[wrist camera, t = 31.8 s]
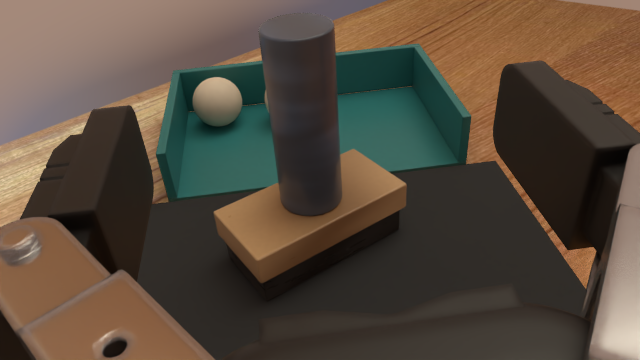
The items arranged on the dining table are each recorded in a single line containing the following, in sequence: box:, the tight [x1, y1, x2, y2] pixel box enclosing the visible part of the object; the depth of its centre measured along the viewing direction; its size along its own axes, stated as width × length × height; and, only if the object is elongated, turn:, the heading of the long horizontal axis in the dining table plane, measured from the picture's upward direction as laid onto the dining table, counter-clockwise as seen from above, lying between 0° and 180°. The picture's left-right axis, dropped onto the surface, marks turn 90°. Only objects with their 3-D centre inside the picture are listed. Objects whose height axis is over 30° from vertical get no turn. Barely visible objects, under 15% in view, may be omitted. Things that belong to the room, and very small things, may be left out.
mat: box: [137, 161, 586, 360], centre depth 22 cm, size 24×20×1 cm
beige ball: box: [193, 77, 242, 127], centre depth 36 cm, size 3×3×3 cm
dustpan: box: [156, 44, 471, 202], centre depth 37 cm, size 16×17×3 cm
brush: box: [214, 13, 407, 301], centre depth 23 cm, size 8×4×11 cm, turn 125°
